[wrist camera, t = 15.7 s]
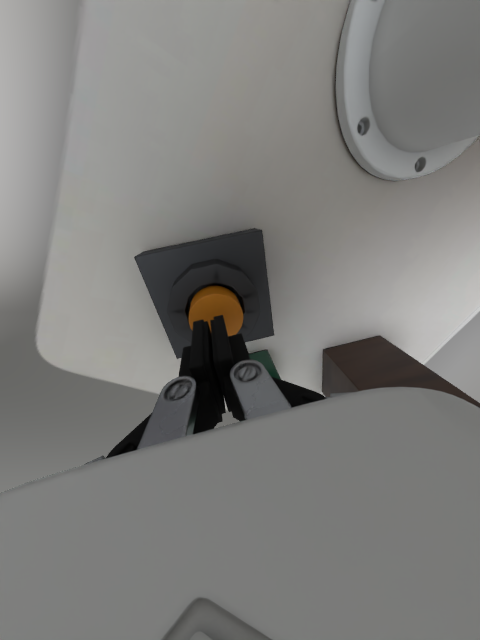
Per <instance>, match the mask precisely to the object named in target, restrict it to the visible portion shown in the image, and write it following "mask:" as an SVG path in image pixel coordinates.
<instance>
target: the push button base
mask: <svg viewBox="0 0 480 640" xmlns="http://www.w3.org/2000/svg"><path fill="white" fill-rule="evenodd" d="M134 258H135V260H136V262H137V265H138V267H139V270H140V272H141V274H142V277H143V279H144V281H145V284H146V286H147V289H148V291H149V293H150V296H151V298H152V300H153V303H154V305H155V308H156V310H157V312H158V315H159V317H160V319H161V322H162V324H163V327H164V329H165V331H166V334H167V336H168V338H169V341H170V343H171V345H172V348H173V350H174V353H175V355H176V357H177V359H178V358H182V352H183V348H184V347H187V346H191V341H192V329H191V327H190V325H189V311H190V305H191V301H192V299H193V297H194V296H195V294H196V293H197V292H199V291H200V290H201V289H203V288H206V287H209V286H222V287H225V288H227V289H229V290H230V291H232V292H233V293H234V294H235V295H236V297H237V299H238V301H239V304H240V306H241V308H242V311H243V323H242V326H241V328H240V330H239V331H238V333H237V334H240V333H242V336H243V339H244V342H249V341H253V340H257V339H261V338H265V337H269V336H273V335H274V330H273V321H272V313H271V304H270V295H269V287H268V278H267V269H266V261H265V252H264V243H263V234H262V230H260V229H255V228H254V229H249V230H244V231H239V232H235V233H230V234H225V235H220V236H216V237H211V238H206V239H201V240H197V241H192V242H187V243H182V244H178V245H173V246H168V247H163V248H158V249H154V250H149V251H144V252H142V253H140V254H138V255H137V256H135V257H134Z"/></svg>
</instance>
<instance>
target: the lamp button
mask: <svg viewBox="0 0 480 640" xmlns="http://www.w3.org/2000/svg"><path fill="white" fill-rule="evenodd" d="M219 315H223V317H224V321H225V325H226V329H227V333H228V336H232V335H236V334H237V333H238V331H239V330H240V328H241V326H242V323H243V311H242V308H241V306H240V304H239V301H238V299H237V297H236V295H235V294H234V293H233V292H232V291H230V290H229V289H227V288H225V287H222V286H209V287H206V288H203V289H201V290H200V291H199V292H197V293H196V294H195V296H194V297H193V299H192V301H191V305H190V311H189V325H190V327H191V329H192V330H193V322H194V321H198V320H204V322H205V321H208V324H209V327H210V331H211V323H210V320H214V317H215V316H219Z"/></svg>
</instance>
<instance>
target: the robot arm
mask: <svg viewBox="0 0 480 640" xmlns="http://www.w3.org/2000/svg"><path fill="white" fill-rule="evenodd" d="M336 101H337V111H338V118H339V122H340V126H341V130H342V134H343V137H344V139H345V142H346V144H347V146H348V148H349V150H350V152H351V154H352V155H353V157H354V158H355V159H356V161H357V162H358V163H359V165H360V166H361V167H363V168H364V169H365V170H366V171H368V172H369V173H370V174H372V175H374V176H376V177H379V178H381V179H384V180H393V181H399V180H407V179H413V178H417V177H421V176H425V175H428V174H430V173H432V172H434V171H436V170H438V169H440V168H442V167H444V166H445V165H447V164H448V163H450V162H451V161H452V160H454V159H455V158H457V157H458V156H459V155H460V154H461V153H463V152H464V151H465V150H466V149H467V148H468V147H469V146H470V145H471V144H472V143H473V142H474V141H475V140H476V139H477V138H478V137H479V135H480V0H351V1H350V4H349V8H348V12H347V15H346V19H345V23H344V26H343V30H342V33H341V39H340V46H339V52H338V59H337V68H336ZM210 323H211V331H210V327H209V324H208V321H205V322H204V320H198V321H194V322H193V330H192V341H191V346H187V347H184V348H183V352H182V358H181V365H180V372H179V377H177V378H175V379H173V380H171V381H170V382H168V383H167V384H166V385H165V386H164V387H163V389H162V391H161V393H160V395H159V398H158V400H157V403H156V405H155V407H154V410H153V412H152V413H151V415H149V416H148V417H147V418H146V419H145V420H144V421H143V422H142V423H141V424H139V425H138V426H137V427H136V428H135V429H134V430H133V431H132V432H131V433H130V434H129V435H127V436H126V437H125V438H124V439H123V440H122V441H121V442H120V443H119V444H118V445H116V446H115V447H114V448H113V450H112V451H111V452H110V453H109V454H108V456H107V457H106V458H105V457H104V456H101V457H99V458H97V459H95V460H92V461H90V462H88V463H86V464H84V465H82V466H79V467H75V468H72V469H69V470H65V471H62V472H59V473H56V474H52V475H49V476H46V477H43V478H40V479H37V480H34V481H31V482H27V483H25V484H22V485H20V486H17V487H15V488H12V489H9V490H7V491H4V492H2V493H0V640H480V408H479V407H477V406H475V405H473V404H471V403H469V402H467V401H465V400H463V399H461V398H459V397H456V396H454V395H451V394H448V393H445V392H441V391H437V390H431V389H424V388H413V387H387V388H376V389H369V390H363V391H358V392H349V393H333V394H330V397H324V396H323V395H321V394H319V393H317V392H315V391H312V390H309V389H306V388H303V387H300V386H297V385H294V384H292V383H289V382H286V381H283V380H280V379H277V378H274V377H272V376H270V375H269V373H268V372H267V370H266V369H265V367H264V366H263V365H262V364H261V363H260V362H258V361H256V360H251V359H250V357H249V354H248V351H247V348H246V345H245V342H244V339H243V336H242V333H240V334H236V335H232V336H228V333H227V329H226V325H225V321H224V317H223V315H219V316H215V317H214V320H210ZM224 398H225V401H226V405H227V408H228V411H229V412H231V411H232V414H233V417H234V418H236V419H237V420H239V421H240V422H237V423H233V424H230V425H226V426H222V427H219V428H215V429H214V427H215V426H216V424H217V423H219V422H222V414H223V413H226V412H225V403H224Z"/></svg>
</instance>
